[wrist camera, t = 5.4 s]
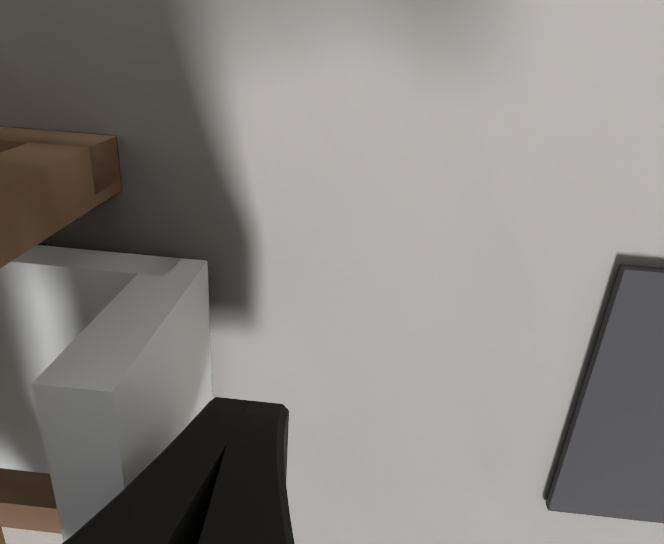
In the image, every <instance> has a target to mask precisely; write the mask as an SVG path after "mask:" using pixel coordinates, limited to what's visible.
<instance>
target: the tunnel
mask: <svg viewBox="0 0 664 544" xmlns="http://www.w3.org/2000/svg"><path fill="white" fill-rule="evenodd" d="M121 190H122V189H121V179H120V169H119V159H118V149H117V139H116V136H110V135H98V134H86V133H74V132H61V131H49V130H37V129H25V128H13V127H1V126H0V268H2V267H3V266H5V265H6V264H8V263H9V262H11V261H13V260H14V259H16V258H17V257H19V256H20V255H22V254H23V253H25V252H27V251H28V250H30V249H31V248H33V247H34V246H36V245H37V244H39V243H40V242H42V241H44V240H45V239H47V238H48V237H50V236H51V235H53V234H54V233H56V232H58V231H59V230H61V229H62V228H64V227H65V226H67V225H68V224H70V223H71V222H73V221H75V220H76V219H78V218H79V217H81V216H82V215H84V214H85V213H87V212H88V211H90V210H92V209H93V208H95V207H96V206H98V205H99V204H101V203H102V202H104V201H106V200H107V199H109V198H110V197H112V196H113V195H115V194H116V193H118V192H119V191H121ZM1 527H9V528H18V529H26V530H35V531H43V532H52V533H60V534H62V531H61V526H60V521H59V516H58V511H57V506H56V501H55V496H54V491H53V487H52V482H51V477H50V474H48V473H39V472H31V471H22V470H13V469H4V468H0V544H6V543H5V539H4V536H3V532H2V528H1Z"/></svg>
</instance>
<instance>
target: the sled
mask: <svg viewBox="0 0 664 544" xmlns="http://www.w3.org/2000/svg"><path fill="white" fill-rule="evenodd" d="M211 400H212V375H211V346H210V318H209V289H208V261H204V260H194V259H183V258H172V257H161V256H150V255H140V254H129V253H118V252H107V251H96V250H86V249H75V248H64V247H53V246H42V245H36V246H34V247H33V248H31V249H30V250H28V251H27V252H25V253H23V254H22V255H20V256H19V257H17V258H16V259H14V260H13V261H11V262H9V263H8V264H6V265H5V266H3V267H2V268H0V468H4V469H13V470H22V471H31V472H39V473H48V474H50V477H51V482H52V487H53V491H54V496H55V501H56V506H57V511H58V516H59V521H60V526H61V531H62V536H63V540H64V542H65V541H66V540H67V539H68V538H70V537H71V536H72V535H73V534H74V533H75V532H77V531H78V530H79V529H80V528H81V527H82V526H83V525H85V524H86V523H87V522H88V521H89V520H90V519H91V518H92V517H94V516H95V515H96V514H97V513H98V512H99V511H100V510H101V509H103V508H104V507H105V506H106V505H107V504H108V503H109V502H110V501H112V500H113V499H114V498H115V497H116V496H117V495H118V494H119V493H120V492H121V491H123V490H124V489H125V488H126V487H127V486H128V485H129V484H130V483H131V482H132V481H133V480H134V479H135V478H136V477H137V476H138V475H139V474H140V473H141V472H142V471H143V470H144V469H145V468H146V467H147V466H148V465H149V464H150V463H151V462H152V461H153V460H155V459H156V458H157V457H158V456H159V455H160V454H161V453H162V452H163V451H164V450H165V449H166V447H167V446H168V445H169V444H170V443H171V442H172V441H173V440H174V439H175V438H176V437H177V436H178V435H179V434H180V433H181V432H182V431H183V430H184V429H185V428H186V427H187V426H188V424H189V423H190V422H191V421H192V420H193V419H194V418H195V417H196V416H197V415H198V414H199V413H200V411H201V410H202V409H203V408H204V407H205V406H206V405H207V404H208V403H209V402H210V401H211Z"/></svg>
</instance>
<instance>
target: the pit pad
mask: <svg viewBox="0 0 664 544" xmlns="http://www.w3.org/2000/svg"><path fill="white" fill-rule="evenodd" d="M546 506H547V508H548V510H550V511H559V512H568V513H577V514H586V515H595V516H604V517H613V518H622V519H631V520H640V521H649V522H658V523H664V269H660V268H649V267H638V266H627V265H620V268H619V271H618V274H617V278H616V281H615V284H614V287H613V290H612V293H611V297H610V300H609V303H608V306H607V309H606V313H605V316H604V319H603V322H602V325H601V329H600V332H599V335H598V338H597V341H596V344H595V348H594V351H593V354H592V357H591V360H590V364H589V367H588V370H587V373H586V376H585V380H584V383H583V386H582V389H581V392H580V396H579V399H578V402H577V405H576V408H575V411H574V415H573V418H572V421H571V424H570V427H569V431H568V434H567V437H566V440H565V443H564V447H563V450H562V453H561V456H560V459H559V462H558V466H557V469H556V472H555V475H554V478H553V482H552V485H551V488H550V491H549V494H548V498H547V501H546Z"/></svg>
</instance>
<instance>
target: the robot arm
mask: <svg viewBox="0 0 664 544" xmlns="http://www.w3.org/2000/svg"><path fill="white" fill-rule="evenodd" d="M288 420H289V410H288V409H287V408H286V407H285V406H284V405H283V404H276V403H266V402H257V401H247V400H238V399H229V398H219V397H215V398H214V399H212V400H211V401H210V402H209V403H208V404H207V405H206V406H205V407H204V408H203V409H202V410H201V411H200V413H199V414H198V415H197V416H196V417H195V418H194V419H193V420H192V421H191V422H190V423H189V424H188V426H187V427H186V428H185V429H184V430H183V431H182V432H181V433H180V434H179V435H178V436H177V437H176V438H175V439H174V440H173V441H172V442H171V443H170V444H169V445H168V446H167V447H166V449H165V450H164V451H163V452H162V453H161V454H160V455H159V456H158V457H157V458H156V459H155V460H153V461H152V462H151V463H150V464H149V465H148V466H147V467H146V468H145V469H144V470H143V471H142V472H141V473H140V474H139V475H138V476H137V477H136V478H135V479H134V480H133V481H132V482H131V483H130V484H129V485H128V486H127V487H126V488H125V489H124V490H123V491H121V492H120V493H119V494H118V495H117V496H116V497H115V498H114V499H113V500H112V501H110V502H109V503H108V504H107V505H106V506H105V507H104V508H103V509H101V510H100V511H99V512H98V513H97V514H96V515H95V516H94V517H92V518H91V519H90V520H89V521H88V522H87V523H86V524H85V525H83V526H82V527H81V528H80V529H79V530H78V531H77V532H75V533H74V534H73V535H72V536H71V537H70V538H68V539H67V540H66V541H65V542H64V543H62V544H294V539H293V533H292V527H291V521H290V514H289V506H288V498H287V489H286V469H287V445H288Z"/></svg>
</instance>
